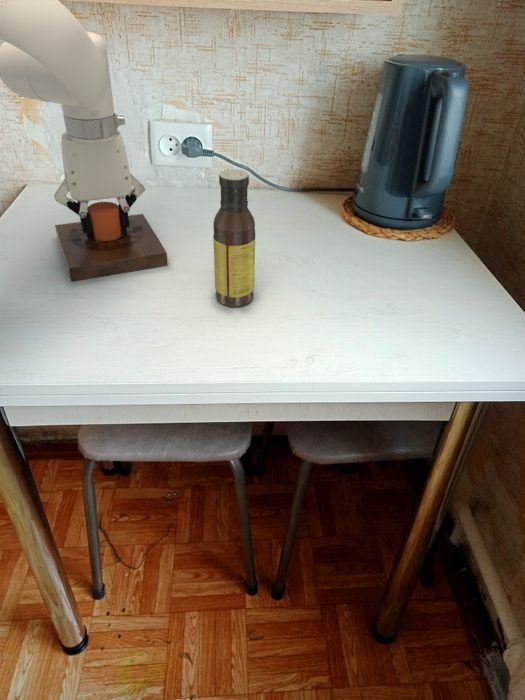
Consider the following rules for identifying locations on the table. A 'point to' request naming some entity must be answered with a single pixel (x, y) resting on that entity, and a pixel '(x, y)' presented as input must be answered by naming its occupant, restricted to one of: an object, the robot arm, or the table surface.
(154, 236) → the back board
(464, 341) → the table surface
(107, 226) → the orange cylinder
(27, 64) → the robot arm
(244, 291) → the sauce bottle
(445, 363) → the table surface
